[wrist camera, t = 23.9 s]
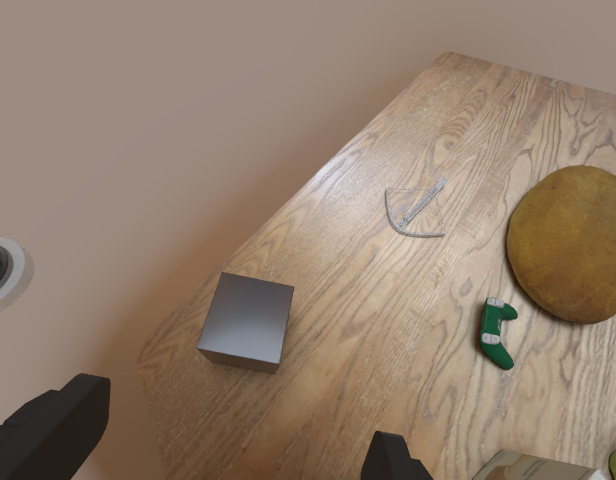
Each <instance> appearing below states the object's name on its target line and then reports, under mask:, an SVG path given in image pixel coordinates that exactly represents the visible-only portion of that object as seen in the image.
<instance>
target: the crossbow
mask: <svg viewBox="0 0 616 480" xmlns="http://www.w3.org/2000/svg"><path fill="white" fill-rule="evenodd" d="M447 181H448V180H447V179H445V178H444V177H443V178H442V179H441V180H440V181H439V182H438V183H437V184H436V185H435V186H434V187H433V188H432V189H431V190H429V192H428V193H427V194H426V195H425V196H424V197H423V198H422V199H421V200H420V201H419V202H418V204H417V205H416V206H415V207H414V208H413V209H412V210H411V211H410V212H409V213H408V214H407V215H406V216H405V217H404V218H403V219H402V220H401V221H400V222H399V223H398V224H396V222H395V221H394V220H393V218H392V214H391V211H390V205H389V198H388V189H391V188H387V189H386V191H385V193H386V208H387V214H388V218H389V221H390V223H391V225H392V227H393V229H395V230H396V231H397V232H399V233H400V234H404V235H407V236H414V237H435V236H443V235H445V233H446V232H445V229H444V232H442V233H414V232H409V231H406V230H404V229H403V228H404V227H405V226H406V225H407V224H408V222H409V221H410V220H411V219H412V218H413V217H414V216H415V215H416V214H417V213H418V212H419V211H420V210H421V209H422V208H423V207H424V206H425V205H426V204H427V203H428V201H429V200H430V199H431V198H432V197H434V195H435V196H436V193H437V192H438V191H439V190H440V189H441V188H442V187H443V186H444V185H445V184H446V183H447ZM402 190H418V189H402ZM436 200H437V197H436ZM437 204H438V201H437ZM438 208H439V205H438ZM439 212H440V209H439ZM440 216H441V213H440ZM441 220H442V217H441ZM442 224H443V221H442ZM443 228H444V225H443Z"/></svg>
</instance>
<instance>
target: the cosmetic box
mask: <svg viewBox="0 0 616 480" xmlns="http://www.w3.org/2000/svg"><path fill="white" fill-rule="evenodd" d="M473 480H608V479H607V478H606V477H605V476H604V475H603V474H602V473H601V471H600V470H598V469H593V468H588V467H583V466H578V465H574V464H569V463H564V462H560V461H555V460H550V459H545V458H540V457H535V456H531V455H526V454H522V453H517V452H512V451H507V450H502V451H500V452H499V453H498V454H497V455H496V456H495V457H494V458H493V459H492V460H491V461H490V462H489V463H488V464H487V465H486V466H485V467H484V468H483V469H482V470H481V471H480V472H479V473H478V474H477V475H476V476H475V477H474V479H473Z"/></svg>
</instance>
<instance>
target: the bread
mask: <svg viewBox="0 0 616 480" xmlns="http://www.w3.org/2000/svg"><path fill="white" fill-rule="evenodd" d="M507 248H508V257H509V260H510V263H511V265H512V269H513V271H514V274H515V276H516V278H517V280H518V282H519V284H520V286H521V287H522V288H523V289H524V290H525V291H526V292H527V294H528V295H529V296H530V297H531V298H532V299H533V300H534V301H535V302H536V303H537V304H538V305H540V306H541V307H542V308H544V309H546V310H547V311H549V312H550V313H551V314H553V315H556V316H558V317H560V318H562V319H564V320H568V321H572V322H576V323H579V324H595V323H599V322H602V321H605V320H607V319H609V318H610V317H612V316H614V315H615V313H616V176H615V175H613V174H611V173H609V172H606V171H604V170H602V169H599V168H596V167H592V166H584V165H578V166H569V167H565V168H562V169H560V170H557V171H554V172H553V173H551V174H550V175H548V176H547V177H546V178H544V179H543V180H542V181H541V182H539V183H538V184H537V185H536V186H535V187H533V188H532V189H530V190H529V192H528V193H527V194H526V195H525V196H524V198H523V199H522V201H521V202H520V203H519V205H518V206H517V208H516V209H515V211H514V213H513V215H512V216H511V219H510V224H509V231H508V235H507Z"/></svg>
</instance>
